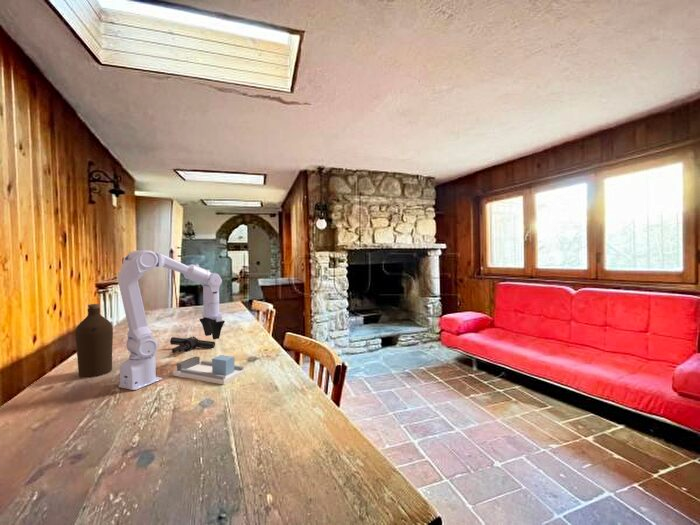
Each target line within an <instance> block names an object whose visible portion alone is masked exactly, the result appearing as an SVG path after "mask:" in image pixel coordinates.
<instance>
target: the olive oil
mask: <svg viewBox="0 0 700 525" xmlns="http://www.w3.org/2000/svg"><path fill="white" fill-rule="evenodd" d="M87 307H88V308H87V316H85V318H84V319H83V320H81V322H80V323H79V324H78V325H77V326H76V328H75V331H74V338H75V348H76V356H77V367H78V368H77V370H78V371H77V373H78V377H79V378H82V377H89V378H95V376H96V377H100V376H104V375H107V374H109V373H110V372H112V371H113V340H114V339H113V338H114V337H113V336H114V329H113V328H114V327H113V324H112V323H111V321H110V320H108V319H107V318H105V317H104V316H103V315H102V314H101V307H100V303H90V304H88V305H87ZM103 374H104V375H103Z"/></svg>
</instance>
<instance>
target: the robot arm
mask: <svg viewBox="0 0 700 525" xmlns="http://www.w3.org/2000/svg"><path fill="white" fill-rule="evenodd" d="M155 267H158V268H159V267H163V268H166V269H169V270H171V271H175V272H178V273H180V274H182V275H183V278H184V279H187V280H189V281H192V282H194V283H196V284H200V285H201V286H202V288H203V289H202V290H203V292H202V293H203V294H202V296H203V311H202V313H201V314H202V316H201V317H202V318H198V319H199V322H200V323H201V326H202V329H203V332H204V335H205V337H208V336H211V337H212V340H213V341H214V340H218V339H220V337H221V331H222V329H223V326H224V324H225V320H223V316H222V315H223V312H220V286H221V285H222V283H223V279H222V277H221V276H220V274H218V273H217V272H211V270H210V269H205V268H203V267H201V266H200V264H198V263H197V264H196V263H194V264H193V263H191V264H189V265H187V264H184V263H183V262H180V261H177V260H175V259H174V258H171V257H169V256H167V255H165V254H162V253H160V252H154V251H153V250H150V249H144V250H132V251H130V252H129V253H128V254H127V255H126V256H124V258H123V262H122V265H121V267H120V269H119V272H118V274H117V283H118V287H119V291H120V296H121V300H122V304H123V310H124V313H125V314H124V315H125V317H126V323H127V326H128V331H127V334H126V335H127V340H126V344H125V347H126V350H127V351H128V352H130V354H129V356H128V359H127V360H125V361H123V362H121V364H120V365H119V385H118V387H119V388H122V389H127V390H132V391H137V390H140V389H142V388H144V387H148V386H149V385H152V384H153V383H156V382H158V381H161V380H163V378H162V377H159V376H157V375H156V373H157V372H156V369H157V368H156V353H157V351H158V348H159V343H158V341H157V340H156V339H155V337H154V336H153V335H154V334H153V332H152V331H151V329H150V327H149V324H148V321H147V316H146V312H145V308H144V307H145V306H144V303H143V298H142V294H141V289H140V285H139V280H140V279H141V278H142V277H143V276H144V275H145V273H148V271H151V270H152V269H154V268H155Z"/></svg>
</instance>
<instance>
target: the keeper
mask: <svg viewBox="0 0 700 525" xmlns="http://www.w3.org/2000/svg"><path fill="white" fill-rule="evenodd" d="M211 362H212V373H215V374H221V375H228V374H230V373H232V372H234V371H235V370H234V365H235V357H234V356H231V355H224V354H223V355H222V354H221V355H217V356H215V357H213V358H212V359H211Z"/></svg>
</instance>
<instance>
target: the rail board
mask: <svg viewBox="0 0 700 525" xmlns="http://www.w3.org/2000/svg"><path fill="white" fill-rule="evenodd" d="M200 360H201V359H200V356H196V355H195V356H193V357H189V358H187V359H185V360H183V361H180V362H177V363H176V369H174V370H173V372H172V374H173V376H174V377H175V376H176V377H181V378H186V379H192V380H197V381H202V382H206V383H207V382H208V383H213V384H219V385H226V384H228V383H231V382H232V381H234V380H236V379H238V378H239V376H240V377H241V375H242V376H243V375H245V374H246V369H245V368H244V365H243V366H242V365H238V364H237V365H235V364H234V370H235V371H234V372H232V373H230V374H228V375H221V374H215V373H212V361H210V360H201V361H200Z"/></svg>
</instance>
